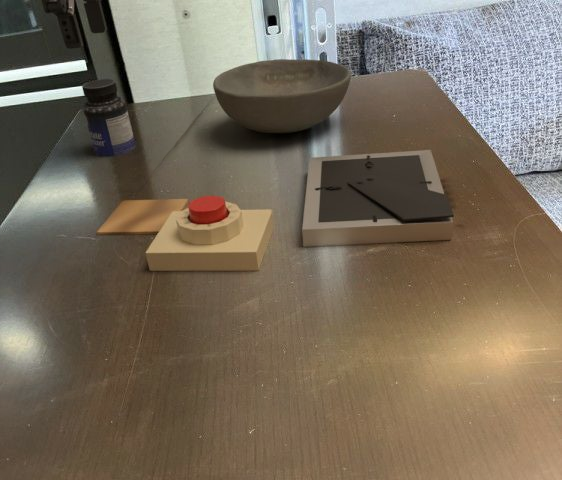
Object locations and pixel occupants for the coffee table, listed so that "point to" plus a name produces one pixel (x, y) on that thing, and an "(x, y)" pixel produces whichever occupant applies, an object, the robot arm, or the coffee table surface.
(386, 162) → the picture frame
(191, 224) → the desk block
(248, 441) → the coffee table surface
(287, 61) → the bowl
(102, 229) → the coaster
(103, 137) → the pill bottle
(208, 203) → the button
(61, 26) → the robot arm
